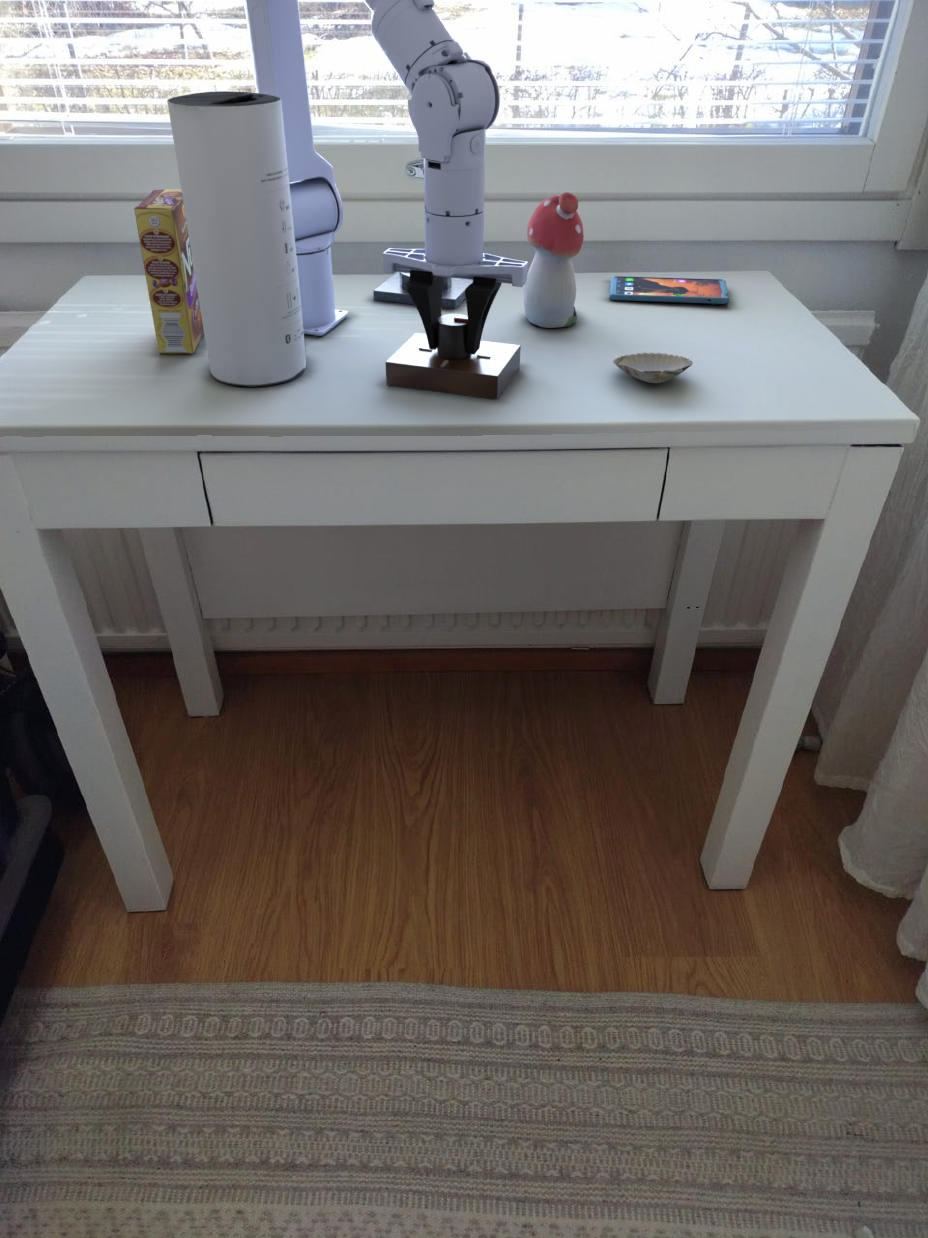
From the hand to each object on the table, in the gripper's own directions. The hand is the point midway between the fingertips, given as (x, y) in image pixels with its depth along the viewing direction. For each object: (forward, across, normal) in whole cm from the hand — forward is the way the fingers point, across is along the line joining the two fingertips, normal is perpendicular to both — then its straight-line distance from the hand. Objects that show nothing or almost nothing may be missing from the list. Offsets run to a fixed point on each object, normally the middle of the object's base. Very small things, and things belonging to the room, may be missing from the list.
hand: (454, 348), depth 96 cm
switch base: (+3, -12, +25) cm, 28 cm away
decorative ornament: (+3, +6, +20) cm, 22 cm away
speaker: (+3, -20, -5) cm, 21 cm away
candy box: (+3, -32, 0) cm, 33 cm away
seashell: (+3, +20, +6) cm, 21 cm away
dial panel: (+3, 0, 0) cm, 3 cm away
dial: (0, 0, 0) cm, 0 cm away
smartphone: (+3, +18, +35) cm, 39 cm away
